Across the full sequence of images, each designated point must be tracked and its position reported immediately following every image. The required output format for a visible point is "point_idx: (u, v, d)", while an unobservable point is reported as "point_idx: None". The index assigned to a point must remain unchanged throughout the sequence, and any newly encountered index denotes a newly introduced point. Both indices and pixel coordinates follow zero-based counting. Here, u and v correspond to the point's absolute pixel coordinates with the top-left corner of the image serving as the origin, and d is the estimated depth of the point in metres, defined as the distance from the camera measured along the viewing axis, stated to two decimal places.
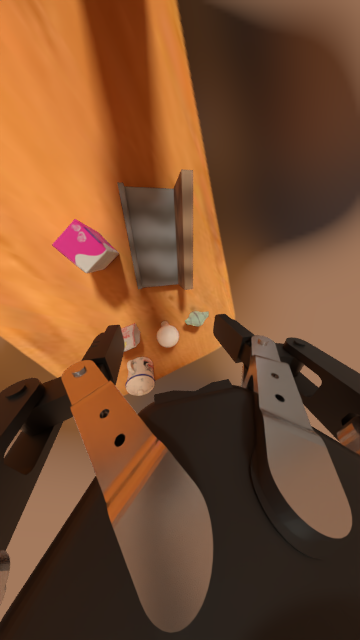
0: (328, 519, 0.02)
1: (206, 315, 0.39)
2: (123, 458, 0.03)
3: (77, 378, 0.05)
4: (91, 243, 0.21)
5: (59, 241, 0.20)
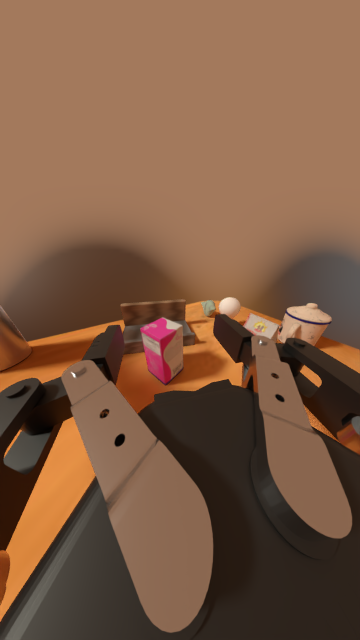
0: (328, 519, 0.02)
1: (203, 302, 0.52)
2: (123, 458, 0.03)
3: (77, 378, 0.05)
4: (157, 322, 0.25)
5: (156, 335, 0.21)
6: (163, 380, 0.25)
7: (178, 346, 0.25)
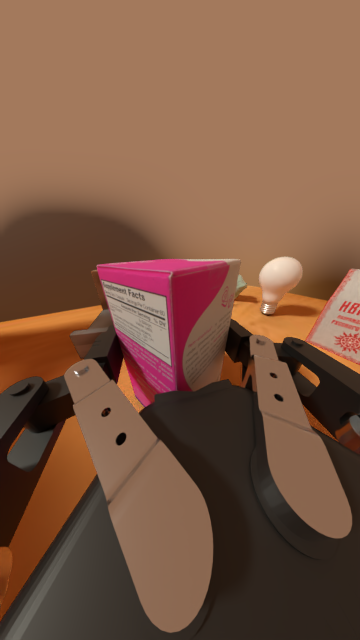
0: (328, 519, 0.02)
1: None
2: (123, 457, 0.03)
3: (80, 377, 0.05)
4: (157, 260, 0.08)
5: (153, 267, 0.04)
6: None
7: (221, 332, 0.08)
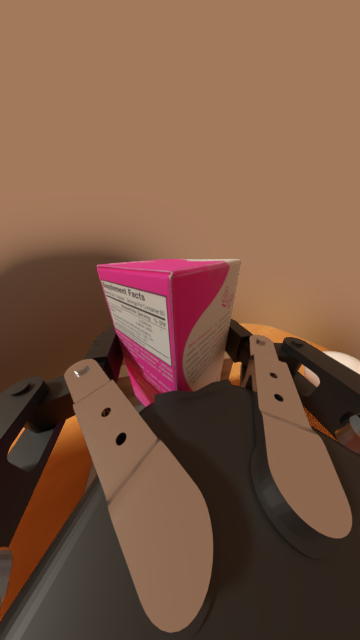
0: (328, 519, 0.02)
1: None
2: (123, 457, 0.03)
3: (80, 377, 0.05)
4: (157, 260, 0.08)
5: (153, 267, 0.04)
6: None
7: (221, 332, 0.08)
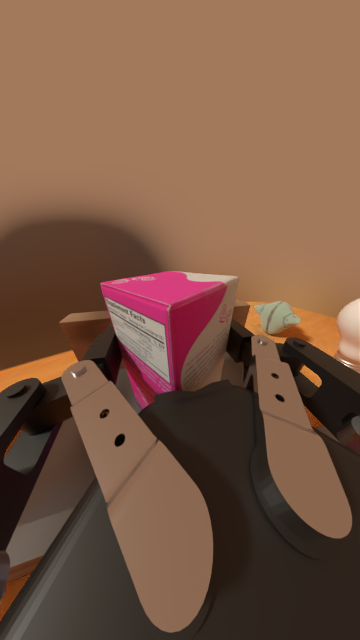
0: (328, 519, 0.02)
1: (261, 305, 0.26)
2: (123, 458, 0.03)
3: (77, 378, 0.05)
4: (158, 274, 0.09)
5: (153, 294, 0.05)
6: None
7: (220, 345, 0.08)
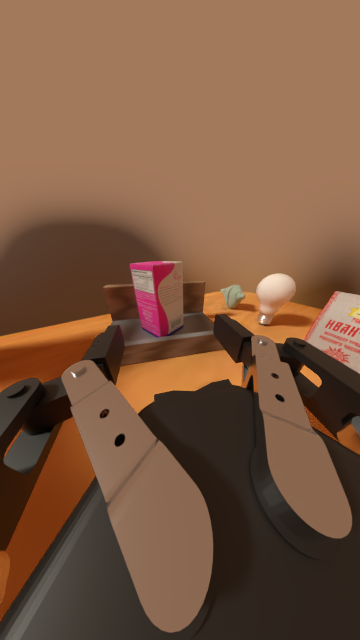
0: (328, 519, 0.02)
1: None
2: (123, 459, 0.03)
3: (77, 378, 0.05)
4: None
5: (149, 264, 0.16)
6: (158, 333, 0.20)
7: (176, 290, 0.20)
